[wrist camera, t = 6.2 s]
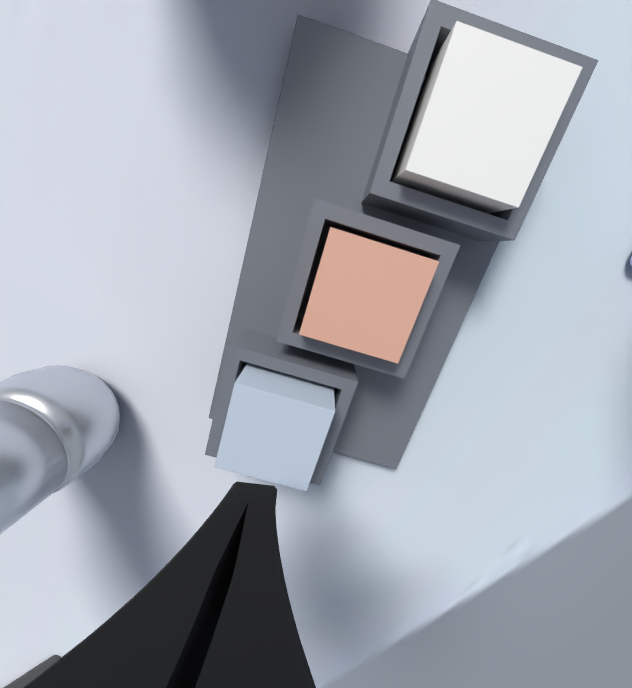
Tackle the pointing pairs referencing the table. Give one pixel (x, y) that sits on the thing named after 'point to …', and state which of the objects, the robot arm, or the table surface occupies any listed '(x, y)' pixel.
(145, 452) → the table surface
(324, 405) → the slate key
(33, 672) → the calculator
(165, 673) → the robot arm
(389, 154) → the panel
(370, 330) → the terracotta key
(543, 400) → the table surface
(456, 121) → the ivory key
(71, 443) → the plastic bottle
